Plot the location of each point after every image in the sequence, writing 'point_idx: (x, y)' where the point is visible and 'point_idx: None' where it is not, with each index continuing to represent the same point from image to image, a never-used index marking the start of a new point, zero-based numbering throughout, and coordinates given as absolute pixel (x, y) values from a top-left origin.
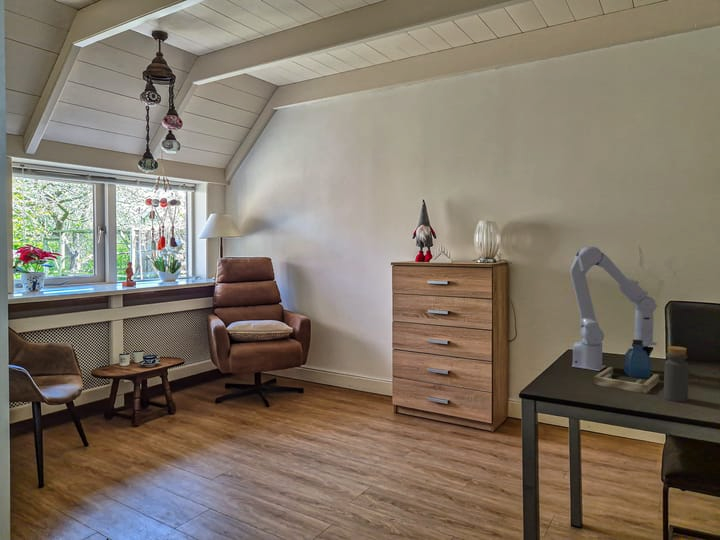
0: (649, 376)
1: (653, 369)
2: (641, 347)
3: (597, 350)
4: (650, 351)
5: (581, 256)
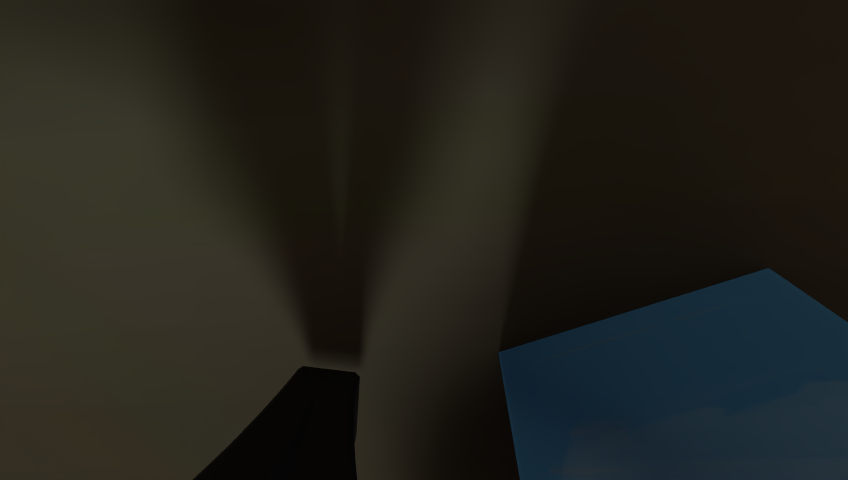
0: (786, 286)
1: (179, 261)
2: None
3: None
4: None
5: None
